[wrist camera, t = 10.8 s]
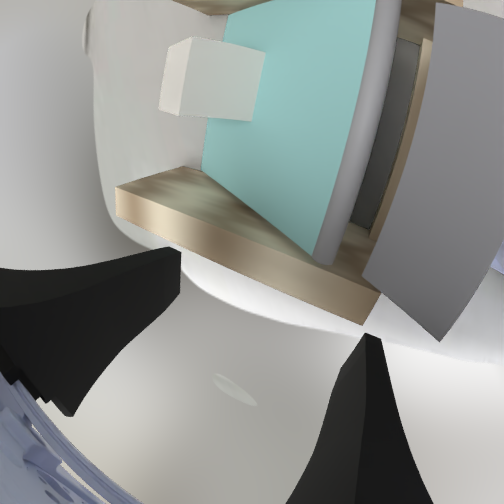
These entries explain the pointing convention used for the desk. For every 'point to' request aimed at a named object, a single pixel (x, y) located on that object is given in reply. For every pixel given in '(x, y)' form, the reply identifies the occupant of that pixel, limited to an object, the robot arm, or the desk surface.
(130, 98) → the desk surface
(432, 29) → the rail stand
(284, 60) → the trapdoor
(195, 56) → the gray cube
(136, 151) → the desk surface
